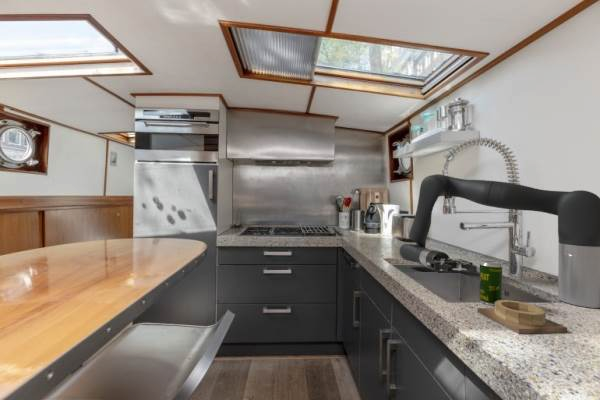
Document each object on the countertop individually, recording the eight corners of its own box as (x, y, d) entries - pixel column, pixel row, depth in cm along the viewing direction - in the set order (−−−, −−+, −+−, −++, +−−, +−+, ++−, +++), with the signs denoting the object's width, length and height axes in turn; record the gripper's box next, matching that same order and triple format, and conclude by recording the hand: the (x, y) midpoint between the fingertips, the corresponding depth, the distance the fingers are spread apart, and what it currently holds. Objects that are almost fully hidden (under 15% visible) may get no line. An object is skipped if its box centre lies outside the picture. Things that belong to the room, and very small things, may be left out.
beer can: (491, 300, 82) (492, 259, 82) (507, 306, 77) (507, 263, 77) (474, 300, 81) (475, 259, 82) (489, 306, 76) (489, 263, 76)
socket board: (518, 311, 73) (518, 298, 73) (567, 331, 61) (567, 316, 62) (477, 312, 72) (477, 298, 72) (518, 333, 60) (519, 317, 60)
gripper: (417, 249, 105) (443, 258, 89) (451, 250, 107) (483, 258, 91) (416, 269, 105) (443, 281, 89) (451, 269, 107) (483, 281, 91)
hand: (463, 269), depth 90 cm, fingers open, 8 cm apart
